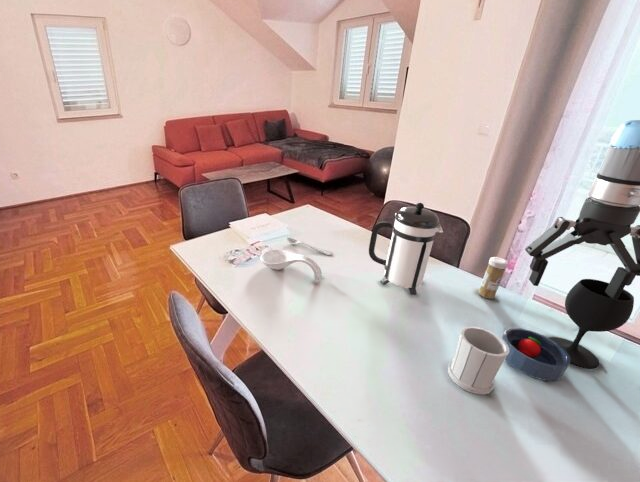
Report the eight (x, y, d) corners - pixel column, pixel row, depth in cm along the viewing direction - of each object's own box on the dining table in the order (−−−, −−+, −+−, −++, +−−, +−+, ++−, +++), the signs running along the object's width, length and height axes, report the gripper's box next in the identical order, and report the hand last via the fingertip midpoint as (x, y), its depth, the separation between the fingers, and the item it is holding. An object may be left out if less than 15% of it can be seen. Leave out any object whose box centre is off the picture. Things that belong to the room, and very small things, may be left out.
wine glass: (543, 353, 81) (575, 290, 73) (544, 332, 88) (574, 271, 80) (601, 377, 75) (644, 310, 67) (597, 351, 82) (635, 288, 74)
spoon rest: (254, 267, 119) (255, 250, 116) (269, 254, 128) (270, 238, 125) (313, 288, 106) (315, 270, 104) (325, 272, 115) (327, 256, 113)
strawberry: (528, 362, 80) (539, 347, 80) (537, 361, 76) (548, 345, 77) (510, 350, 82) (521, 335, 83) (518, 348, 78) (529, 333, 79)
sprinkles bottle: (491, 301, 100) (505, 265, 95) (475, 294, 104) (488, 259, 99) (496, 296, 103) (510, 260, 98) (480, 289, 106) (493, 254, 101)
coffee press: (409, 269, 118) (428, 193, 106) (434, 295, 103) (459, 211, 91) (363, 269, 117) (377, 194, 105) (382, 296, 103) (401, 212, 91)
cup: (446, 353, 81) (459, 317, 76) (489, 368, 77) (506, 331, 72) (447, 384, 73) (461, 345, 68) (495, 403, 68) (514, 363, 64)
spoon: (288, 239, 140) (288, 236, 139) (332, 252, 129) (333, 249, 128) (283, 242, 137) (284, 239, 136) (329, 257, 126) (329, 253, 125)
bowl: (547, 350, 82) (555, 336, 80) (572, 389, 72) (581, 373, 70) (491, 337, 86) (497, 323, 84) (507, 372, 76) (514, 357, 74)
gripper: (543, 199, 64) (509, 286, 72) (722, 216, 55) (660, 312, 63) (528, 189, 70) (498, 269, 78) (686, 202, 61) (634, 291, 70)
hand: (570, 289), depth 71 cm, fingers open, 13 cm apart
